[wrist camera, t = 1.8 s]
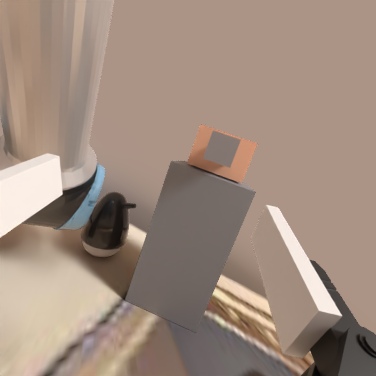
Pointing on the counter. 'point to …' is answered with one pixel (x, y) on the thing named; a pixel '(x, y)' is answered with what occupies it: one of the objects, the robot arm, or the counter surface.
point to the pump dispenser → (107, 225)
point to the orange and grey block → (221, 153)
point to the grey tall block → (188, 243)
